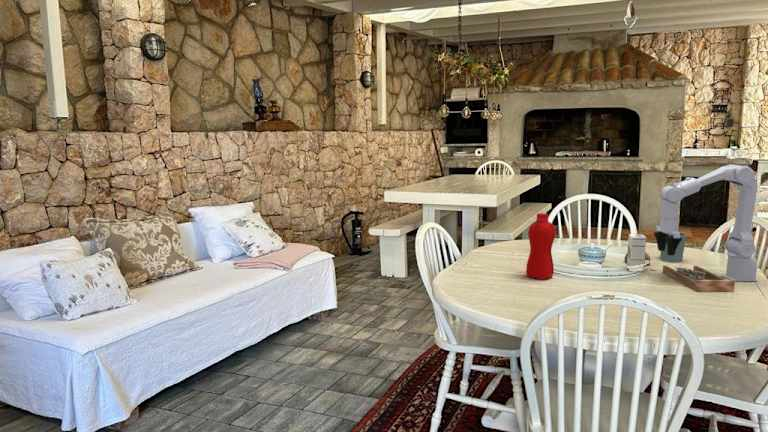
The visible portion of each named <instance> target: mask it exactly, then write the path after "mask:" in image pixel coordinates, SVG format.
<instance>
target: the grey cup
mask: <svg viewBox="0 0 768 432" xmlns="http://www.w3.org/2000/svg"><path fill="white" fill-rule="evenodd" d="M678 232H679V233H680V238H682V241H681V242H680V243H679V245H678V246H677V249H676V251H675V254H674V255H668V253H667V242H666V247H665V250H664V251H660V254H659V255H660V261H663V262H668V263H681V262H682V263H683V258H684V252H685V245H686V241H687V240H686V239H687V237H688V236H687V233H686V232H681V231H678ZM669 237H670V235H669Z"/></svg>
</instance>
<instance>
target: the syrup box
mask: <svg viewBox="0 0 768 432" xmlns="http://www.w3.org/2000/svg"><path fill="white" fill-rule="evenodd" d="M627 240H628V243H627V253H626V254H627V263H626V267H627V266H635V265H640V264H645V252H646V244H647V243H646V242H647V237H646V236H645V235H644V234H643V233H642V234H639V233H630V234H628V239H627ZM644 272H645V270H644V271H643V272H642V273H644Z"/></svg>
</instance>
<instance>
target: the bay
mask: <svg viewBox="0 0 768 432" xmlns="http://www.w3.org/2000/svg"><path fill="white" fill-rule="evenodd" d="M692 271H698V272H699V271H700V272H702V271H704V272H706V273H707V274H705V275H704V276H705V280H695V281H694V280H693V279H691V278H689V277H687V276H685V275H683V274H681V273H679V272H677V269H674V268H671V267H670V266H668V265H662V274H664V275H666V276H667V277H668V278H669V277H670V278H671V279H672V280H674V281H677V282H678V283H680V284H682V285H684V286H685V287H688V289H690V290H692V291H694V292H697V293H700V292H701V293H702V292H703V293H705V292H706V293H713V292H714V293H718V292H719V293H721V292H722V293H734V292H735V285H736V281H734V280H729V279H727V278H725V277H724V278H723V276H721V275H720V276H719V275H717V274H715V273H713V272H711V271H709V270H707V269H704V268H703V267H700V266H698V265H693V269H692Z"/></svg>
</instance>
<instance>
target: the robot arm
mask: <svg viewBox="0 0 768 432" xmlns="http://www.w3.org/2000/svg"><path fill="white" fill-rule="evenodd" d="M755 176H756V172H755V171H754V170H753V169H752V168H751V167H750V166H747V165H739V164H734V163H731V164H726V165H724V166H721V167H719V168H717V169H716V170H712V171H711V172H708V173H706V174H705V175H702V176H700V177H698V178H694V177H689V176H688V177H685V180H682V181H679V182H674V183H673V185H672V186H671V185H666V186H665V187H663V188H662V189H661V190H660V192H659V198H660V199H661V212H660V223H659V225H656V229H655V230H656V231H654V232H653V235H654V237H655V240H656V245H657V250H658V251H660V252H661V251H664V250H665V247H666V242H667V253H668V255H674V254H675V251H676V249H677V246H678V245H679V243H680V242H681V241H682V238H680V233H679V232H680V231H678V216H679V207H680V206H679V204H680V202H681V201H682V200H683V199H684V198H686V197H688V196H690V195H693V194H695V193H698V192H700V189H701V188H702V187H704V186H708V185H710V184H712V183H715V182H719V181H721V180H722V181H723V180H725V181H728V182H730V183H732V184H733V185H734V186H735V187H736V188H738V189H739V192H738V193H739V194H738V200H737V206H736V214H735V220H734V227H733V230H732V231H731V232H730V233H729V234H728V237H727V240H726V241H725V243H724V247H725V248H724V249H726V251H727V261H726V271H725V273H721V274H720V277H722V278H723V277H724V279H726V280H734V281H735V282H757V281H758V280H757V272H758V260H757V259H756V257H754V256H753V255H754V254H755V252H756V245H755V237H754V236H753V234H752V233H751V232H752V231H751V230H752V225H753V218H754V211H755V205H756V201H757V194H758V193H757V192H758V186H759V185H758V183H757V180H756V177H755ZM669 235H670V237H669Z"/></svg>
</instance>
